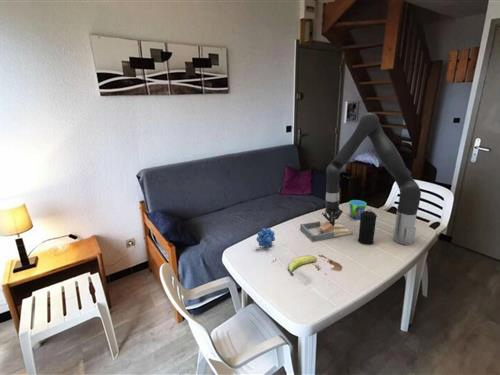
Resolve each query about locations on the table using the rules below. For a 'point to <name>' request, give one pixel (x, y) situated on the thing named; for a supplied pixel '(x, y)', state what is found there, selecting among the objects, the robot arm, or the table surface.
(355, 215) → the snack cup
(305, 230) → the box
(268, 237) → the blue knobby ball
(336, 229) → the beige wooden board
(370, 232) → the aerosol can
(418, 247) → the table surface
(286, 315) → the table surface
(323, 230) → the peach rectangular block
